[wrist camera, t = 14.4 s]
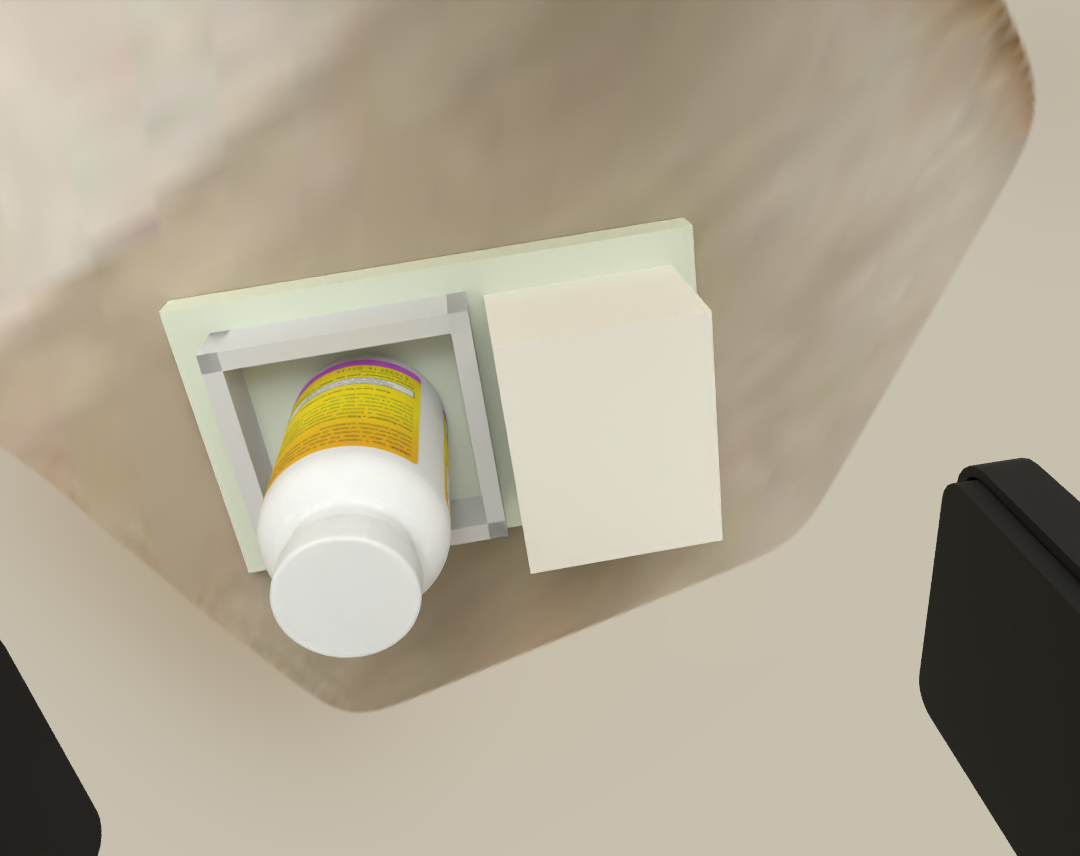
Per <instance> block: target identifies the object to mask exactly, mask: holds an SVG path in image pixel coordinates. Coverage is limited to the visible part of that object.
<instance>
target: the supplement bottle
mask: <svg viewBox="0 0 1080 856" xmlns="http://www.w3.org/2000/svg"><path fill="white" fill-rule="evenodd" d="M257 542H258V548H259V552H260V556H261V559H262V561H263V564H264V566H265V568H266V570H267V572H268V573H269V575H270V576H271V578H272V581H271V586H270V605H271V609H272V612H273V615H274V617H275V619H276V621H277V623H278V624H279V626H280V627H281V629H282V630H283V631H284V632H285V633H286V634H287V635H288V636H289V637H290V638H291V639H292V640H293V641H295V642H296V643H297V644H299V645H301V646H303V647H304V648H306V649H309V650H311V651H313V652H316V653H319V654H322V655H326V656H331V657H339V658H354V657H362V656H368V655H371V654H375V653H378V652H380V651H383V650H385V649H387V648H389V647H391V646H392V645H394V644H395V643H397V642H398V641H399V640H401V639H402V638H403V637H404V636H405V635H406V634H407V633H408V632H409V631H410V629H411V628H412V626H413V625H414V623H415V621H416V619H417V617H418V614H419V611H420V608H421V601H422V595H423V594H424V593H425V592H426V591H427V590H428V589H429V588H430V586H431V585H432V584H433V583H434V582H435V580H436V579H437V577H438V576H439V574H440V572H441V571H442V569H443V567H444V564H445V562H446V559H447V556H448V553H449V548H450V542H451V517H450V493H449V455H448V429H447V419H446V413H445V409H444V406H443V403H442V401H441V398H440V396H439V395H438V393H437V391H436V390H435V388H434V387H433V386H432V384H431V383H430V382H429V381H428V380H427V379H426V378H425V377H424V376H423V375H422V374H421V373H419V372H418V371H417V370H415V369H414V368H412V367H411V366H409V365H407V364H405V363H403V362H401V361H398V360H395V359H392V358H389V357H385V356H379V355H356V356H351V357H346V358H343V359H340V360H337V361H334V362H332V363H330V364H328V365H327V366H325V367H323V368H322V369H320V370H319V371H318V372H316V373H315V374H314V375H313V376H312V377H311V378H310V379H309V380H308V381H307V382H306V384H305V385H304V386H303V388H302V389H301V391H300V393H299V394H298V396H297V398H296V401H295V404H294V406H293V409H292V412H291V415H290V419H289V422H288V425H287V428H286V432H285V435H284V438H283V441H282V444H281V447H280V450H279V453H278V456H277V459H276V462H275V466H274V469H273V472H272V475H271V478H270V481H269V484H268V487H267V490H266V493H265V496H264V499H263V502H262V505H261V509H260V513H259V517H258V523H257Z"/></svg>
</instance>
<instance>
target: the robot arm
mask: <svg viewBox="0 0 1080 856" xmlns="http://www.w3.org/2000/svg"><path fill="white" fill-rule="evenodd" d="M919 685H920V692H921V696H922V700H923V703H924V705H925V708H926V710H927V712H928V714H929V716H930V717H931V719H932V721H933V722H934V724H935V725H936V727H937V729H938V730H939V732H940V733H941V735H942V737H943V738H944V740H945V741H946V743H947V744H948V746H949V748H950V749H951V751H952V752H953V754H954V756H955V757H956V759H957V760H958V762H959V764H960V765H961V767H962V768H963V770H964V772H965V773H966V775H967V776H968V778H969V779H970V781H971V783H972V784H973V786H974V788H975V789H976V791H977V792H978V794H979V795H980V797H981V799H982V800H983V802H984V803H985V805H986V807H987V808H988V810H989V812H990V813H991V815H992V816H993V818H994V819H995V821H996V823H997V824H998V826H999V827H1000V829H1001V831H1002V832H1003V834H1004V835H1005V837H1006V839H1007V840H1008V842H1009V843H1010V845H1011V847H1012V848H1013V850H1014V851H1015V853H1016V855H1017V856H1080V502H1079V501H1078V500H1077V499H1076V498H1075V497H1074V496H1073V495H1072V494H1070V493H1069V492H1068V491H1067V490H1066V489H1065V488H1064V487H1062V486H1061V485H1060V484H1059V483H1058V482H1057V481H1056V480H1055V479H1054V478H1052V477H1051V476H1050V475H1049V474H1048V473H1047V472H1046V471H1045V470H1043V469H1042V468H1041V467H1040V466H1039V465H1038V464H1036V463H1035V462H1033V461H1032V460H1030V459H1026V458H1018V459H1011V460H1005V461H999V462H992V463H986V464H980V465H973V466H969V467H966V468H964V469H963V470H962V472H961V473H960V475H959V477H958V481H957V483H953V484H950V485H948V486H947V487H946V489H945V490H944V493H943V497H942V504H941V512H940V520H939V528H938V535H937V543H936V551H935V558H934V566H933V574H932V582H931V589H930V597H929V605H928V613H927V620H926V628H925V636H924V644H923V651H922V659H921V668H920V675H919ZM100 843H101V823H100V818H99V815H98V813H97V810H96V809H95V807H94V805H93V803H92V801H91V800H90V798H89V796H88V794H87V792H86V791H85V789H84V787H83V785H82V784H81V782H80V780H79V778H78V776H77V775H76V773H75V771H74V769H73V768H72V766H71V764H70V762H69V760H68V759H67V757H66V755H65V753H64V751H63V749H62V748H61V746H60V744H59V743H58V741H57V739H56V737H55V735H54V733H53V732H52V730H51V728H50V727H49V724H48V723H47V721H46V719H45V717H44V715H43V714H42V712H41V710H40V708H39V707H38V705H37V703H36V701H35V699H34V698H33V696H32V694H31V692H30V690H29V689H28V687H27V685H26V683H25V681H24V680H23V678H22V676H21V675H20V673H19V671H18V669H17V667H16V665H15V664H14V662H13V660H12V658H11V657H10V655H9V653H8V651H7V649H6V647H5V646H4V645H3V643H2V642H1V641H0V856H98V852H99V849H100Z"/></svg>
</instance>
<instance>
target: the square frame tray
mask: <svg viewBox="0 0 1080 856" xmlns="http://www.w3.org/2000/svg"><path fill="white" fill-rule="evenodd" d="M159 314H160V317H161V320H162V323H163V326H164V329H165V332H166V335H167V337H168V340H169V343H170V346H171V349H172V352H173V355H174V358H175V361H176V363H177V366H178V369H179V372H180V375H181V378H182V381H183V384H184V387H185V389H186V392H187V395H188V398H189V401H190V404H191V407H192V410H193V413H194V416H195V418H196V421H197V424H198V427H199V430H200V433H201V436H202V439H203V442H204V444H205V447H206V450H207V453H208V456H209V459H210V462H211V465H212V468H213V470H214V473H215V476H216V479H217V482H218V485H219V488H220V491H221V494H222V496H223V499H224V502H225V505H226V508H227V511H228V514H229V517H230V520H231V522H232V525H233V528H234V531H235V534H236V537H237V540H238V543H239V546H240V548H241V551H242V554H243V557H244V560H245V563H246V566H247V569H248V572H249V573H252V572H258V571H263V570H266V568H265V566H264V564H263V561H262V559H261V556H260V552H259V548H258V542H257V523H258V517H259V513H260V509H261V505H262V502H263V499H264V496H265V493H266V490H267V487H268V484H269V481H270V478H271V475H272V472H273V469H274V466H275V462H276V459H277V456H278V453H279V450H280V447H281V444H282V441H283V438H284V435H285V432H286V428H287V425H288V422H289V419H290V415H291V412H292V409H293V406H294V404H295V401H296V398H297V396H298V394H299V393H300V391H301V389H302V388H303V386H304V385H305V384H306V382H307V381H308V380H309V379H310V378H311V377H312V376H313V375H314V374H315V373H316V372H318V371H319V370H320V369H322V368H323V367H325V366H327V365H328V364H330V363H332V362H334V361H337V360H340V359H343V358H346V357H351V356H356V355H379V356H385V357H389V358H392V359H395V360H398V361H401V362H403V363H405V364H407V365H409V366H411V367H412V368H414V369H415V370H417V371H418V372H419V373H421V374H422V375H423V376H424V377H425V378H426V379H427V380H428V381H429V382H430V383H431V384H432V386H433V387H434V388H435V390H436V391H437V393H438V395H439V396H440V398H441V401H442V403H443V406H444V409H445V413H446V419H447V429H448V455H449V493H450V517H451V542H450V546H453V545H459V544H464V543H470V542H476V541H482V540H487V539H493V538H499V537H504V536H508V532H507V528H510V527H516V526H521V525H522V526H523V532H524V538H525V544H526V550H527V555H528V561H529V567H530V573H531V574H533V573H539V572H545V571H550V570H556V569H562V568H567V567H573V566H579V565H584V564H590V563H596V562H601V561H607V560H613V559H618V558H624V557H630V556H635V555H641V554H646V553H652V552H658V551H663V550H669V549H675V548H680V547H686V546H692V545H697V544H703V543H709V542H714V541H720V540H723V537H722V517H721V496H720V475H719V454H718V433H717V413H716V392H715V371H714V350H713V330H712V311H711V310H710V309H709V307H708V306H707V305H706V304H705V303H704V302H703V300H702V299H701V298H700V297H699V296H698V295H697V292H696V274H695V256H694V238H693V225H692V224H690V223H689V222H688V221H687V220H686V219H685V218H684V217H682V218H676V219H670V220H664V221H657V222H651V223H645V224H639V225H633V226H626V227H620V228H614V229H608V230H602V231H596V232H589V233H583V234H577V235H571V236H565V237H559V238H552V239H546V240H540V241H534V242H528V243H521V244H515V245H509V246H503V247H497V248H491V249H484V250H478V251H472V252H466V253H460V254H454V255H447V256H441V257H435V258H429V259H423V260H417V261H410V262H404V263H398V264H392V265H386V266H379V267H373V268H367V269H361V270H355V271H349V272H342V273H336V274H330V275H324V276H318V277H312V278H305V279H299V280H293V281H287V282H281V283H274V284H268V285H262V286H256V287H250V288H244V289H237V290H231V291H225V292H219V293H213V294H207V295H200V296H194V297H188V298H182V299H176V300H170V301H168V302H167V303H166V304H165V305H164V307H163V308H162V309H161V310H160V312H159ZM268 574H269V573H268ZM269 577H271V576H270V575H269Z"/></svg>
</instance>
